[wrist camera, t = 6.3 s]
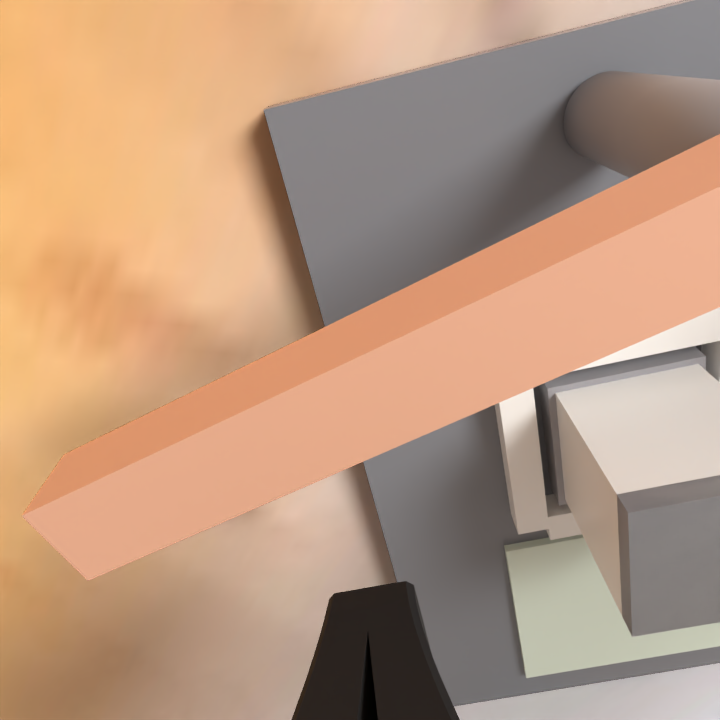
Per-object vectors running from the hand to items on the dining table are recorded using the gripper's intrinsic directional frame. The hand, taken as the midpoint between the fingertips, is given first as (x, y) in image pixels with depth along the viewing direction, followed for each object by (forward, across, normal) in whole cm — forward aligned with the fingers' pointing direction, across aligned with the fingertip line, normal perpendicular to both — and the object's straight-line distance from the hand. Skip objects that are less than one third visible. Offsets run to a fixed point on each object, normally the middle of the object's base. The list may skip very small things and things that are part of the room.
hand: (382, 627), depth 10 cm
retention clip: (+9, -2, -4) cm, 10 cm away
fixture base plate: (+10, -7, +3) cm, 13 cm away
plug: (+9, -7, +3) cm, 12 cm away
